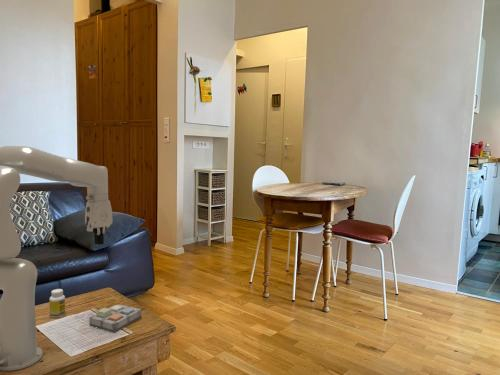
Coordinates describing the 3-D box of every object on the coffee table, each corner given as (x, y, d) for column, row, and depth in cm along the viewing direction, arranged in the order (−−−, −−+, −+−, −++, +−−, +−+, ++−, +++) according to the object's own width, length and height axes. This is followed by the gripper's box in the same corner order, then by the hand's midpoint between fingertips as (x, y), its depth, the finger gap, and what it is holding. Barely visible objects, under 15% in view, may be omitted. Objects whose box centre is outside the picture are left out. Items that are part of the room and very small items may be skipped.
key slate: (127, 319, 145) (127, 312, 145) (120, 317, 146) (120, 310, 146) (134, 315, 148) (133, 309, 148) (127, 314, 149) (127, 307, 149)
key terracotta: (115, 325, 140) (115, 318, 139) (108, 323, 141) (108, 317, 141) (122, 322, 143) (122, 315, 142) (115, 320, 144) (115, 313, 144)
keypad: (114, 333, 137) (114, 324, 137) (89, 325, 142) (89, 317, 142) (141, 317, 150) (141, 309, 149) (117, 311, 155) (117, 303, 154)
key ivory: (116, 316, 147) (116, 309, 147) (109, 314, 149) (109, 308, 148) (123, 312, 150) (122, 306, 150) (116, 311, 152) (116, 304, 151)
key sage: (104, 319, 142) (104, 312, 141) (97, 317, 143) (97, 310, 143) (111, 315, 145) (111, 309, 144) (104, 314, 146) (104, 307, 146)
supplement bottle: (61, 318, 148) (60, 293, 147) (47, 318, 148) (46, 293, 147) (68, 312, 153) (67, 288, 152) (54, 312, 153) (53, 288, 152)
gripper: (89, 200, 143) (90, 249, 145) (119, 196, 156) (120, 241, 158) (75, 199, 146) (76, 247, 148) (105, 195, 159) (106, 238, 161)
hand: (99, 243), depth 153 cm, fingers closed
